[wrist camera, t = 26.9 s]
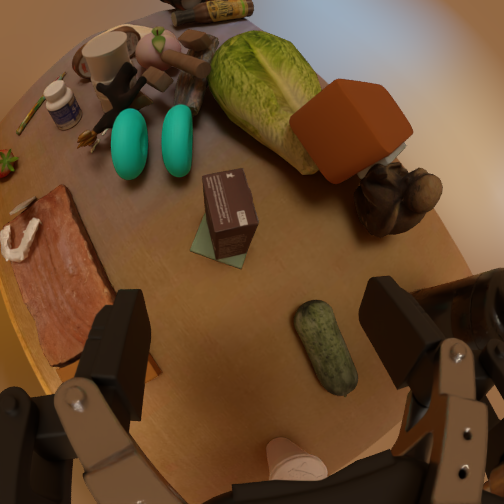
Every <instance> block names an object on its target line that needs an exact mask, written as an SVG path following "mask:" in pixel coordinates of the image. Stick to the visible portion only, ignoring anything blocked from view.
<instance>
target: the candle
mask: <svg viewBox="0 0 504 504" xmlns="http://www.w3.org/2000/svg"><path fill="white" fill-rule="evenodd" d="M126 41H127V35H126V33H124V32H121V31H114V32H108V33H105V34H102V35H99V36H97V37H96V38H94V39H92V40H91V41H89V42H88V43H87V44H86V45H85V46H84V47H83V49H82V55H83V56H84V58H86V61H87V64H88V67H89V70H90V73H91V82H92V83H93V87H94V89H95V92H96V95H97V97H98V98H99V99H100V102H101V105H102V109H103V111H104V112H105V113H106V112H108V111H109V110H111V109H113V107H112V105H111V103H110V101H109V99H108V98H107V97H106V96H104V95H103V94H102V93H100V92H98V91H97V89H96V85H97V83H99V82H100V83H102V84H104V85H109V84H110V83H111V82H112V80H113V79H114V78H115V76H116V74H117V73H118V71H119V70H120V68H121V66H122V65H123V64H124V63H125V62H130V63H131V64H132V65H133V63H132V61H131V60H130V58H129V54H128V49H127V43H126ZM133 66H134V65H133ZM136 82H137V79H136V75H135V76H134V77H133V78H132V80H131V81H130V88H131V87H133V86H134V85H135V84H136Z"/></svg>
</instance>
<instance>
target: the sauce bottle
mask: <svg viewBox="0 0 504 504" xmlns="http://www.w3.org/2000/svg"><path fill="white" fill-rule="evenodd" d="M253 11H254V5H253V2H252V0H214V1H208V2H204V3H199V4H197V5H195V6H194V7H193V8H192V9H188V10H183V11H175V12H173V13H172V15H171V19H172V22H173V24H174V25H175V26H179V25H182V24H185V23H189V22H197V23H202V24H204V23H209V22H217V21H223V20H229V19H236V18H244V17H249V16H251V15H252V14H253Z"/></svg>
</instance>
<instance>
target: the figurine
mask: <svg viewBox="0 0 504 504" xmlns="http://www.w3.org/2000/svg"><path fill="white" fill-rule="evenodd" d="M136 73H137V69H136V68H135V67H134V66H133V65H132V64H131V63H130V62H125V63H124V64H123V65H122V66H121V68H120V70H119V71H118V73H117V74H116V76H115V78H114V79H113V80H112V82H111V83H110V84H109V85H104V84H102V83H100V82H99V83H97V85H96V89H97V91H98V92H100V93H102V94H103V95H104V96H106V97H107V98H108V99H109V101H110V103H111V105H112V107H113V109H111V110H109V111H108V112H106V113H105V114H104V115H103V117H102V118H101V119H100V121H99V122H98V123H97V125H96V126H95V127H94V128H93V130H92V132H91V131H90V130H86V131H84V132H83V133H82V134H81V135H80V136H79V137H78V139H79V140H78V141H77V143H80V144H79V146H78V147H77V149H78V148H79V147H82V146H84V147H85V146H87V145H89V146H90V145H92V144H93V143H94V142H95V141H96V139H97V134H99V133H101V132H102V131H104V130H106V129H108V128H113V125H114V122H115V119H116V118H117V116H118V115H119V113H120V112H122V111H123V110H125V109H127V108H128V107H129V106H130V105H131V103H132V102H133V100H134V99H135V97H136V96H137V94H138V93H139V91H140V89H141V88H142V87H143V86H144V85H145V84H146V82H147V79H146V77H144V76H141V77H140V78H139V79H138V81H137V82H136V84H135V85H134V86H133V87H132V88H131V89H130V81H131V80H132V78H133V77H134V76H135V75H136Z"/></svg>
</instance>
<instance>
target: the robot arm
mask: <svg viewBox="0 0 504 504" xmlns="http://www.w3.org/2000/svg"><path fill="white" fill-rule="evenodd" d="M417 290H418V289H417ZM359 321H360V324H361V326H362V328H363V330H364V331H365V333H366V335H367V337H368V338H369V340H370V342H371V343H372V345H373V347H374V349H375V350H376V352H377V354H378V356H379V357H380V359H381V361H382V363H383V365H384V366H385V368H386V370H387V372H388V374H389V375H390V377H391V379H392V381H393V383H394V385H395V387H396V388H397V390H398V389H401V388H404V387H407V386H409V387H410V389H411V390H410V391H409V393H408V395H407V400H406V405H405V410H404V415H403V420H402V424H401V429H400V433H399V436H398V439H397V441H396V442H395V444H394V445H393V447H392V449H391V450H390V449H389V450H386V451H383V452H380V453H378V454H375V455H372V456H369V457H366V458H363V459H360V460H357V461H355V462H354V463H352V464H350V465H348V466H347V467H345V468H343V469H341V470H340V471H338V472H336V473H334V474H332V475H330V476H329V477H327V478H325V479H322V480H318V481H296V480H269V481H261V482H252V483H242V484H232V491H229V492H226V493H223V494H220V495H218V496H215V497H213V498H211V499H209V500H208V501H206V502H204V503H203V504H504V418H503V419H502V420H499V419H498V417H497V415H496V413H495V411H494V409H493V407H492V406H491V404H490V402H489V400H488V398H487V397H486V394H487V393H488V391H489V390H490V389H491V388H492V387H493V386H494V384H495V386H496V387H497V389H498V391H499V392H500V394H501V396H502V398H503V399H504V268H497V269H493V270H490V271H487V272H483V273H480V274H477V275H473V276H470V277H467V278H463V279H460V280H456V281H453V282H449V283H445V284H441V285H438V286H434V287H430V288H427V287H426V289H423V288H422V290H418V291H413V292H409V293H408V292H407V291H405V290H404V289H402V288H400V286H399V285H398V284H397V283H396V282H395V281H394V279H393V278H392V277H390V276H380V277H372V278H370V279H369V281H368V283H367V286H366V290H365V293H364V296H363V299H362V302H361V305H360V308H359ZM91 328H92V329H90V332H89V334H88V339H87V340H86V343H85V345H84V348H83V351H82V354H81V357H80V360H79V363H78V366H77V369H76V372H75V375H74V378H71V379H68V380H67V381H65V382H63V383H62V384H61V385H60V386H59V387H58V389H57V391H56V393H55V394H52V395H46V396H40V397H32V398H30V396H29V395H28V394H27V393H26V392H25V391H24V390H23V389H22V388H20V387H9V388H7V389H5V390H4V391H2V392H1V393H0V504H71V483H72V466H73V459H75V458H79V460H80V462H81V464H82V465H83V468H84V471H85V472H84V473H83V479H84V481H85V484H86V486H87V487H88V489H89V491H90V492H91V494H92V495H93V497H94V499H95V500H96V502H97V503H98V504H188V503H187V502H186V501H185V500H184V499H183V498H182V496H181V495H180V494H179V493H178V492H177V491H176V490H175V489H174V488H173V487H172V486H171V485H170V484H169V483H168V481H167V480H166V479H165V478H164V477H163V476H162V475H161V474H160V472H159V471H158V470H157V469H156V468H155V466H154V465H153V464H152V463H151V461H150V460H149V459H148V458H147V456H146V455H145V454H144V452H143V451H142V450H141V448H140V447H139V446H138V444H137V443H136V442H135V440H134V439H133V437H132V436H131V435H130V433H129V427H130V421H141V414H142V404H143V395H144V386H145V378H146V370H147V363H148V356H149V349H150V343H151V326H150V321H149V317H148V313H147V309H146V305H145V301H144V297H143V293H142V290H141V289H120V290H118V292H117V295H116V298H115V300H114V303H113V305H105V306H104V307H103V308H102V309H101V310H100V311H99V312H98V313H97V314H96V316H95V318H94V321H93V324H92V326H91ZM485 472H486V475H487V478H488V481H486V482H485V483H484V476H485ZM483 483H484V484H483Z"/></svg>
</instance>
